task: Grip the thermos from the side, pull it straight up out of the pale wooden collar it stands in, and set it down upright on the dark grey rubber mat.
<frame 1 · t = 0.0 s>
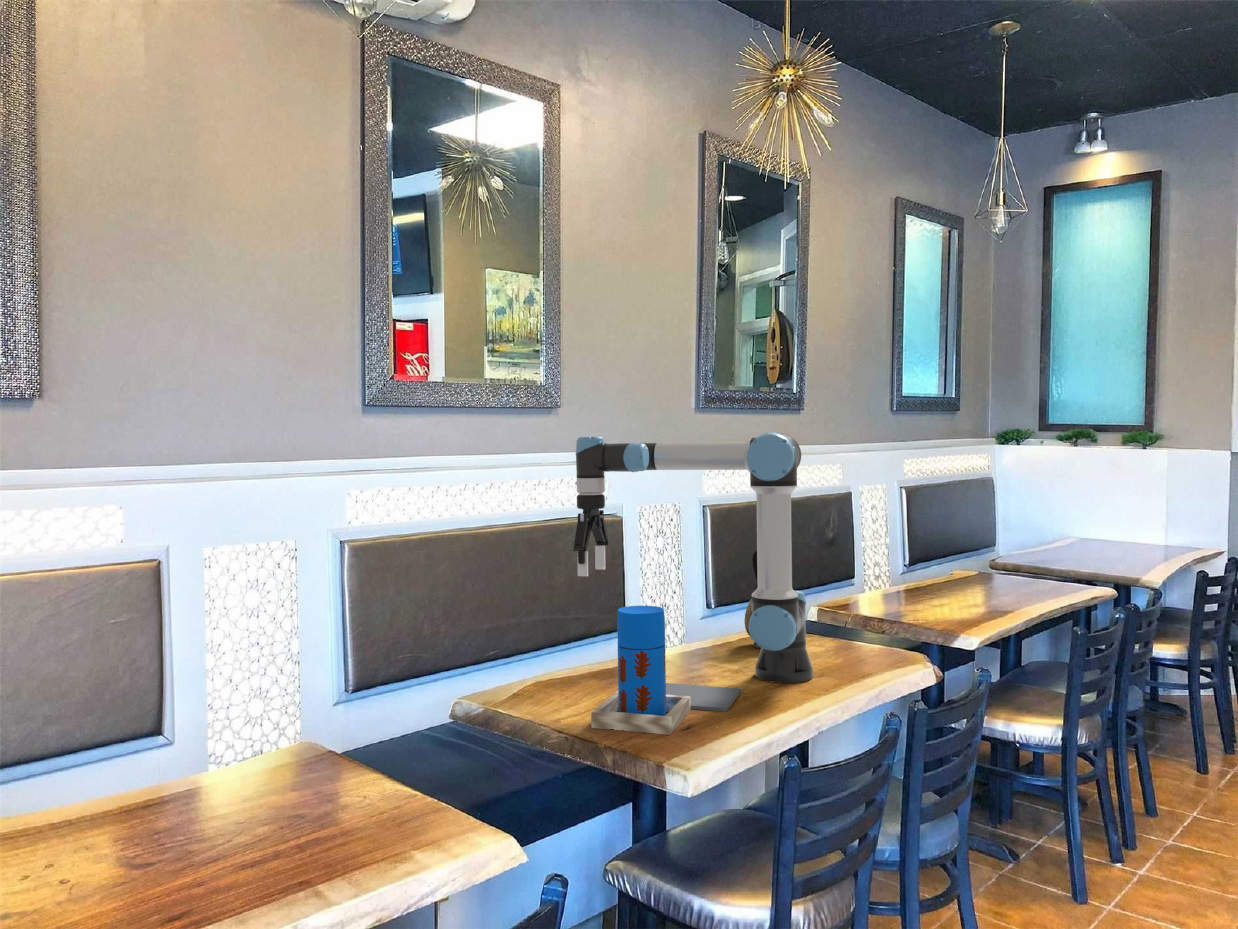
hand: (591, 572, 247), 28 cm above the table, tool pointing down, fingers open, 13 cm apart
rubber mat: (693, 698, 225), on the table
ceramic jug: (768, 647, 281), on the table
wooden collar: (642, 719, 208), on the table
thermos: (642, 720, 208), resting in wooden collar
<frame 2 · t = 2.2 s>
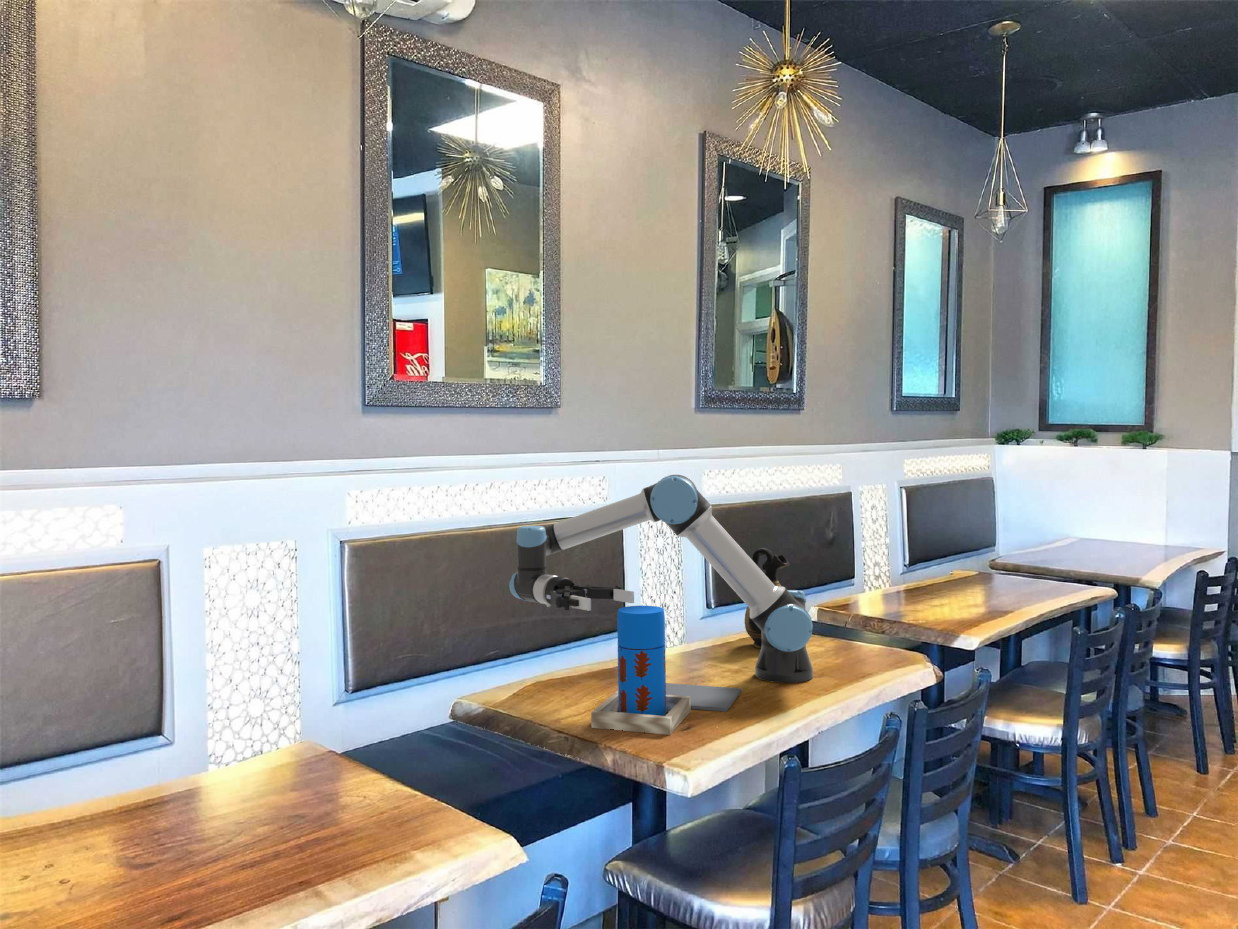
hand: (611, 601, 215), 26 cm above the table, tool horizontal, fingers open, 13 cm apart
nothing on the table moved.
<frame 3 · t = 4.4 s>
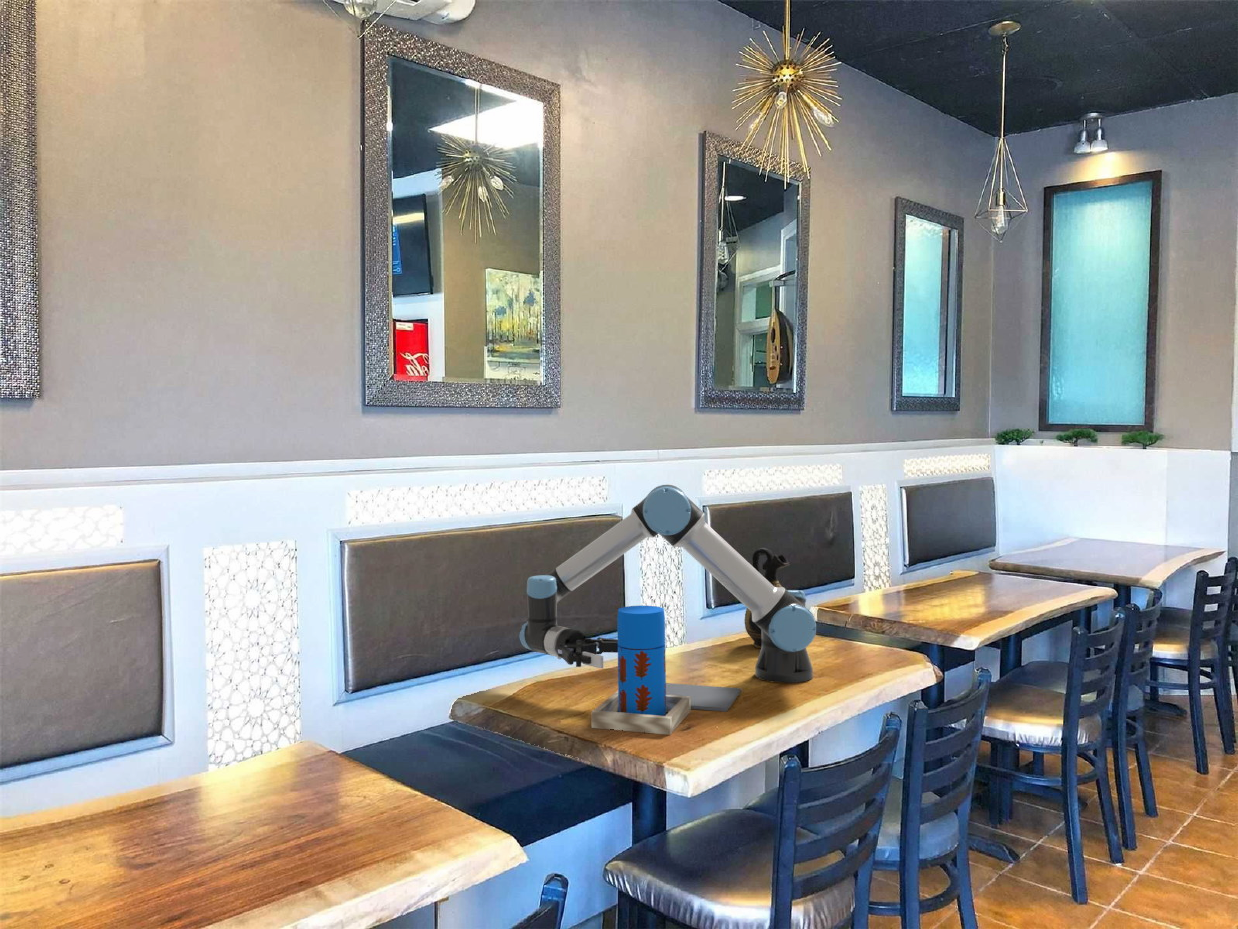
hand: (624, 657, 211), 13 cm above the table, tool horizontal, fingers open, 13 cm apart
nothing on the table moved.
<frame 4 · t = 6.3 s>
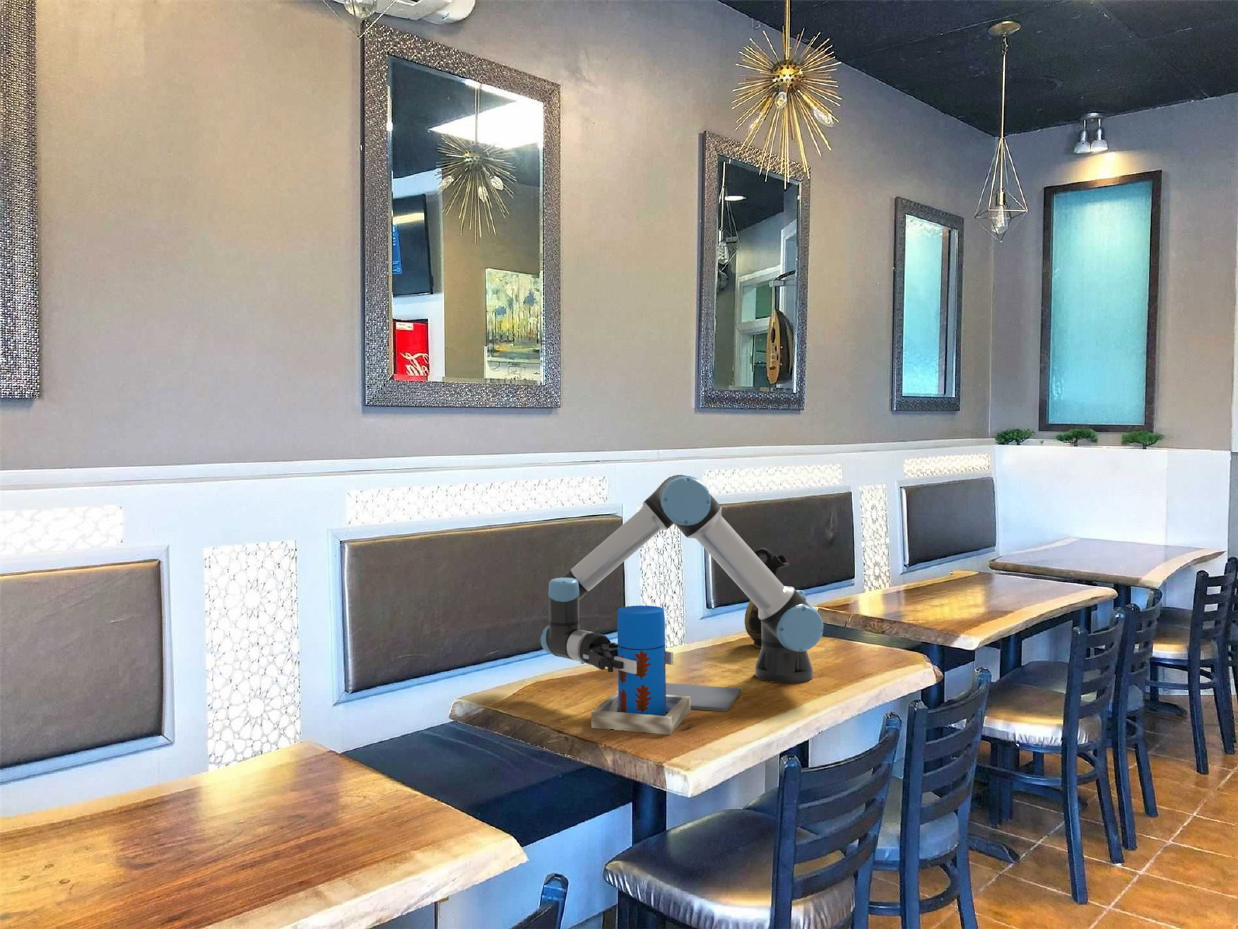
hand: (654, 663, 205), 14 cm above the table, tool horizontal, fingers closed on thermos, 11 cm apart
thermos: (642, 720, 208), resting in wooden collar, touching gripper
everything else where it was.
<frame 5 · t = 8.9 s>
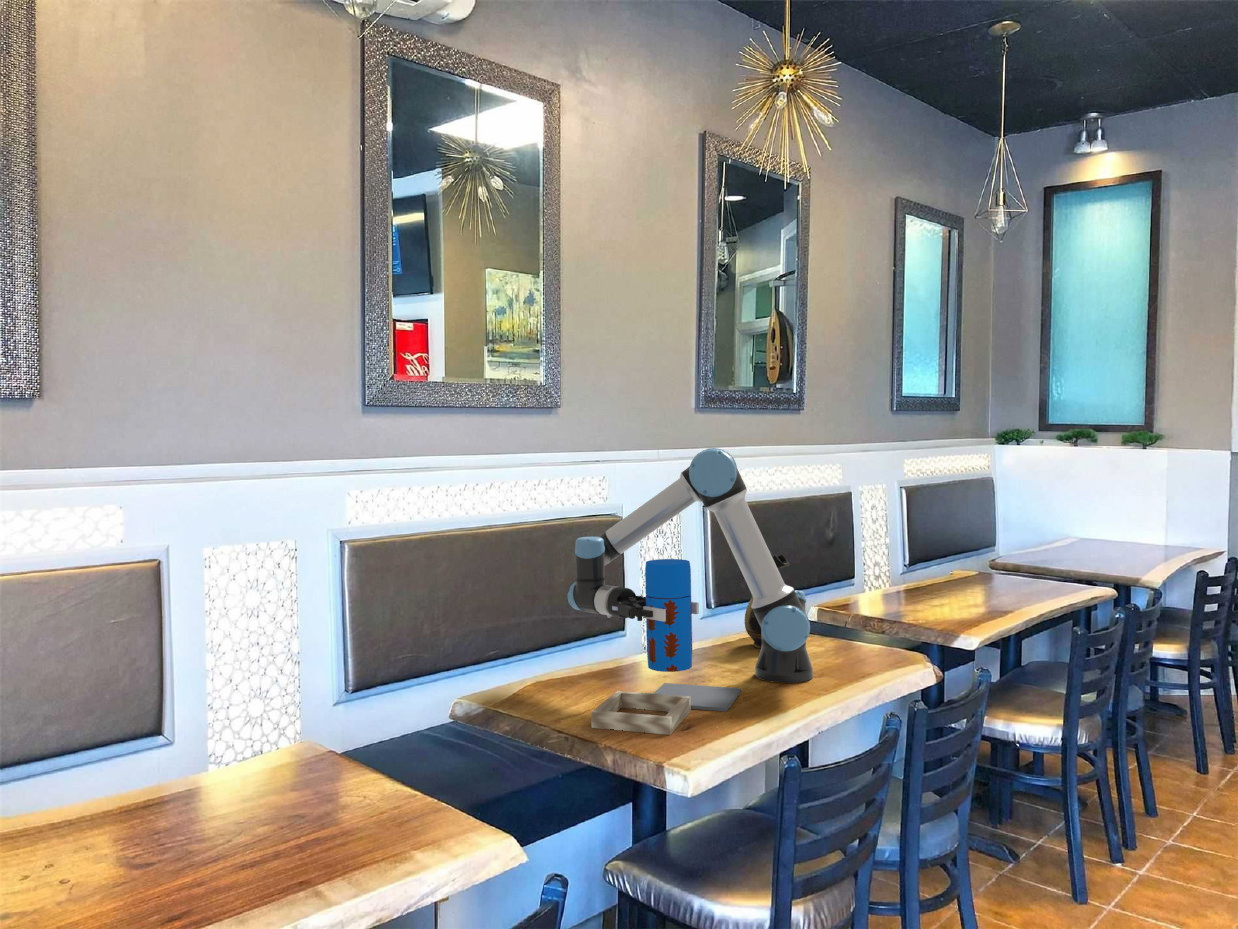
hand: (681, 611, 215), 23 cm above the table, tool horizontal, fingers closed on thermos, 11 cm apart
thermos: (669, 667, 218), point 9 cm above the table, touching gripper
everything else where it was.
when the fingers open (15 cm above the table, at t = 11.5 s): thermos drops 1 cm, resting on rubber mat.
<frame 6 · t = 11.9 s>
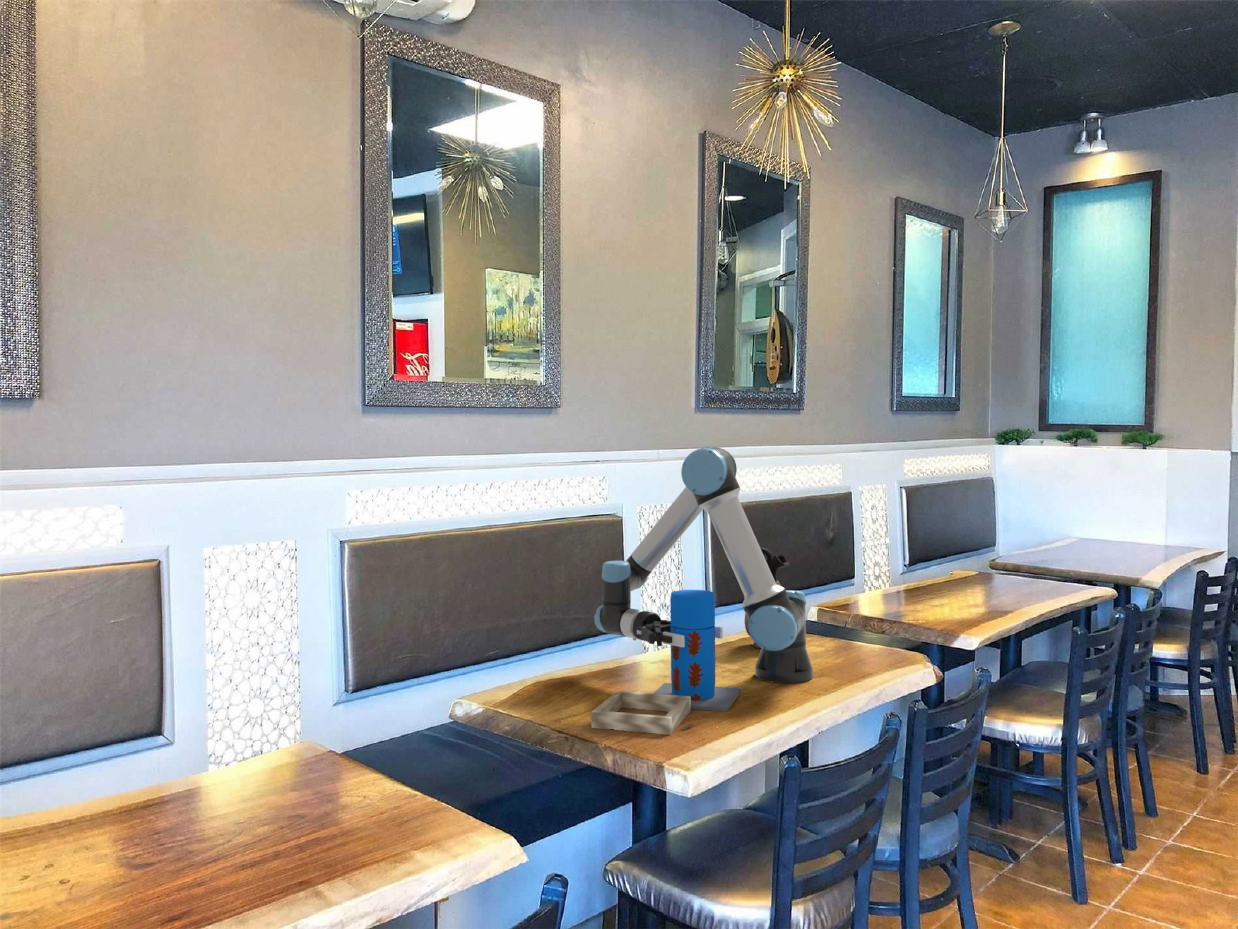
hand: (703, 637, 222), 15 cm above the table, tool horizontal, fingers open, 13 cm apart
thermos: (693, 695, 225), point 1 cm above the table, touching rubber mat
everything else where it was.
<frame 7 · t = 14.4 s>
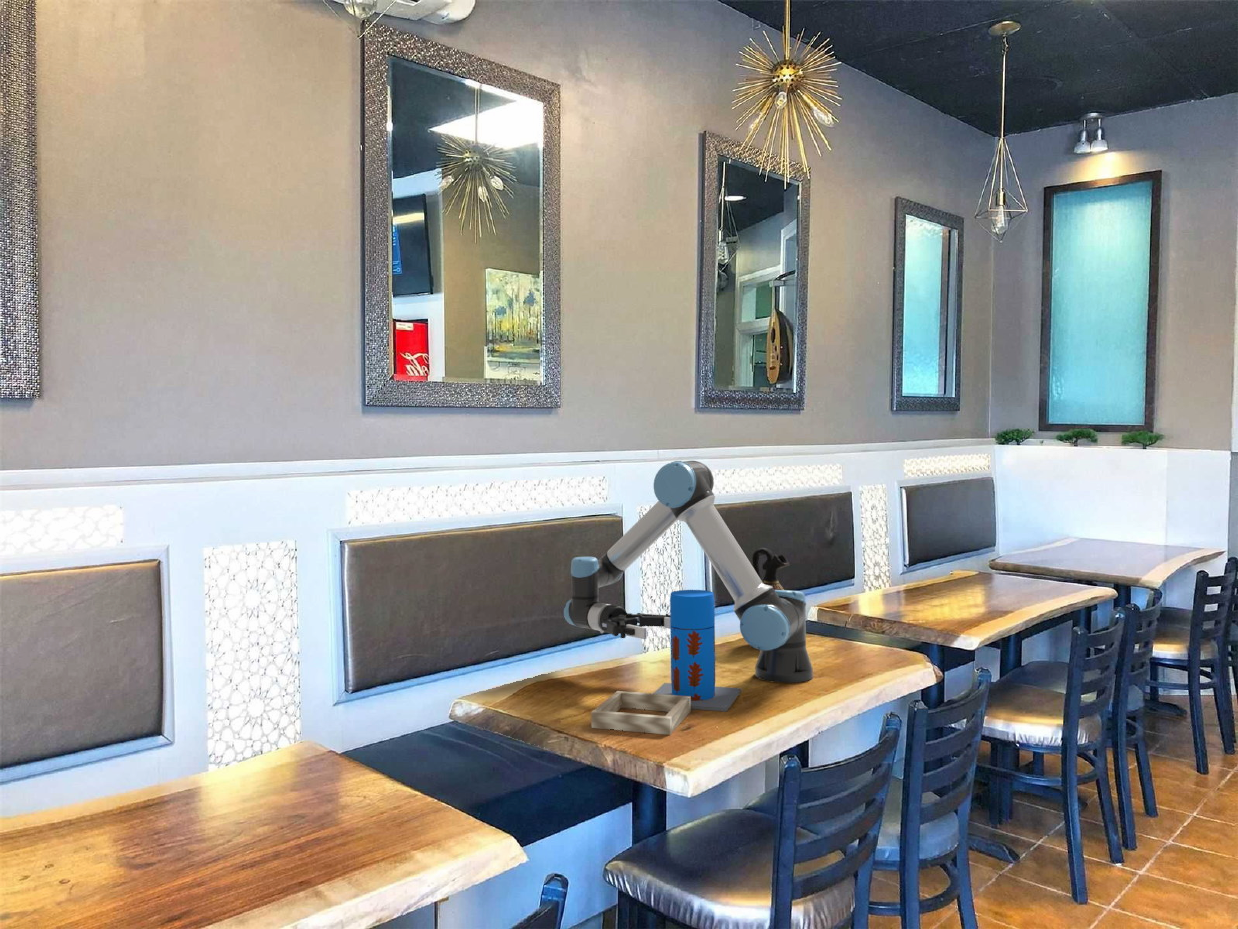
hand: (664, 629, 232), 16 cm above the table, tool horizontal, fingers open, 13 cm apart
nothing on the table moved.
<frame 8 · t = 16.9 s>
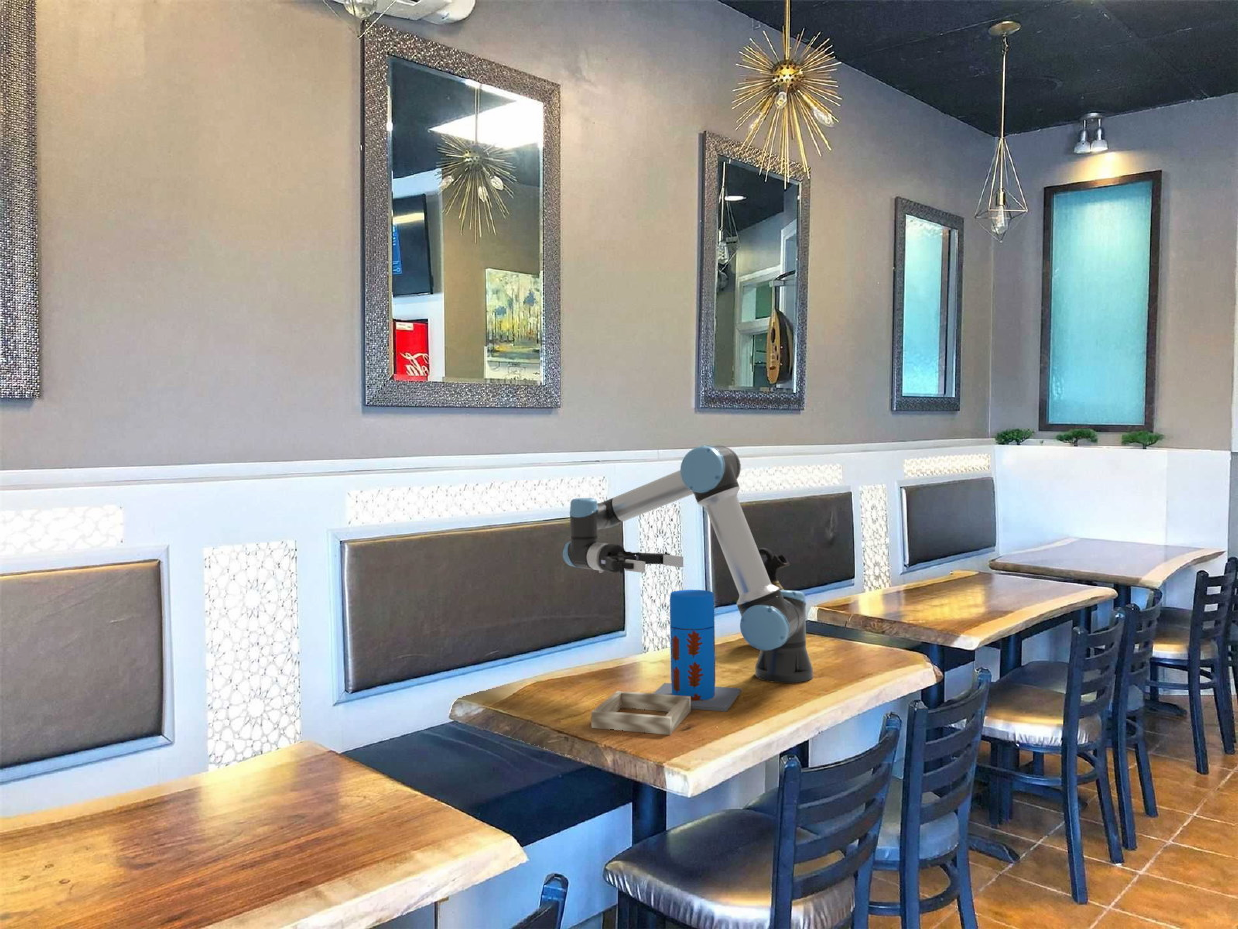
hand: (663, 564, 231), 32 cm above the table, tool horizontal, fingers open, 13 cm apart
nothing on the table moved.
at the end: thermos inside the target area on the rubber mat (0.1 cm from its centre), point 0.6 cm above the rubber mat's base; thermos tilted 0°; the gripper is holding nothing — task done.
